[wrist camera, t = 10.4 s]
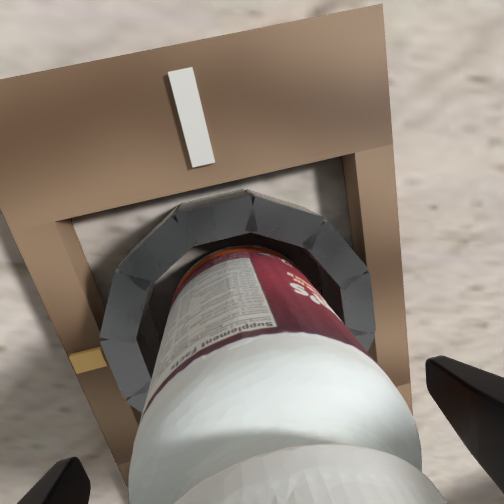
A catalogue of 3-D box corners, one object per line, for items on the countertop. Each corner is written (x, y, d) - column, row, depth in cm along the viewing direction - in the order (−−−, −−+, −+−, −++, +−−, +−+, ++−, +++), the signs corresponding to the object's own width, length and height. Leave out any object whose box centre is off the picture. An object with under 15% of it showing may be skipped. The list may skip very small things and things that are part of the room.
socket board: (402, 433, 18) (432, 476, 15) (152, 506, 17) (142, 564, 14) (365, 18, 12) (405, -17, 9) (-26, 97, 11) (-93, 79, 8)
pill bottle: (332, 317, 15) (644, 715, 4) (225, 389, 15) (267, 926, 5) (260, 211, 13) (493, 444, 2) (141, 295, 14) (-122, 831, 3)
